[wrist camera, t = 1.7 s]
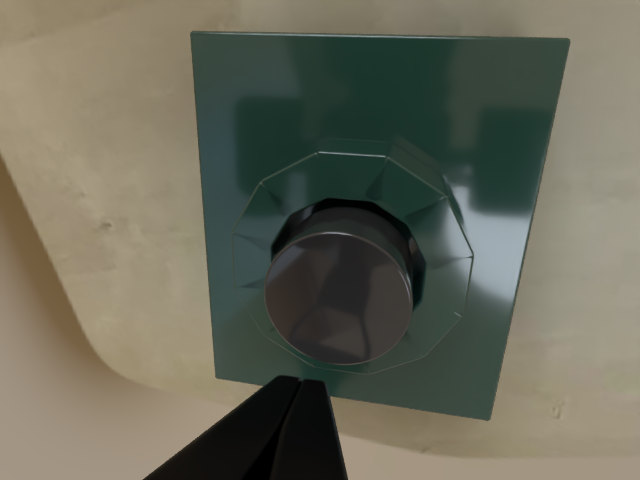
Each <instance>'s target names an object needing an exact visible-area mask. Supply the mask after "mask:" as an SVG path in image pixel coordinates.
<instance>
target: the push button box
mask: <svg viewBox="0 0 640 480" xmlns="http://www.w3.org/2000/svg"><path fill="white" fill-rule="evenodd" d="M190 37H191V50H192V64H193V78H194V91H195V105H196V119H197V132H198V146H199V160H200V173H201V187H202V201H203V214H204V228H205V242H206V255H207V269H208V282H209V296H210V310H211V323H212V337H213V351H214V364H215V377H216V378H217V379H223V380H230V381H236V382H242V383H249V384H255V385H262V386H265V385H266V384H267V383H269V382H270V381H271V380H272V379H274V378H275V377H276V376H278V375H287V376H294V377H299V378H301V380H302V381H303V380H304V379H314V380H321V381H325V382H326V384H327V386H328V391H329V395H330V396H332V397H339V398H345V399H352V400H358V401H364V402H371V403H377V404H384V405H390V406H397V407H403V408H409V409H416V410H422V411H429V412H435V413H441V414H448V415H454V416H461V417H467V418H474V419H480V420H486V421H489V420H490V419H491V414H492V410H493V405H494V400H495V396H496V391H497V386H498V381H499V377H500V372H501V367H502V363H503V358H504V353H505V348H506V344H507V339H508V334H509V329H510V325H511V320H512V315H513V311H514V306H515V301H516V296H517V292H518V287H519V282H520V278H521V273H522V268H523V263H524V259H525V254H526V249H527V245H528V240H529V235H530V230H531V226H532V221H533V216H534V212H535V207H536V202H537V197H538V193H539V188H540V183H541V179H542V174H543V169H544V164H545V160H546V155H547V150H548V145H549V141H550V136H551V131H552V127H553V122H554V117H555V112H556V108H557V103H558V98H559V94H560V89H561V84H562V79H563V75H564V70H565V65H566V61H567V56H568V51H569V46H570V39H568V38H544V37H491V36H438V35H385V34H332V33H279V32H226V31H192V32H191V34H190ZM338 206H352V207H359V208H363V209H366V210H369V211H372V212H374V213H376V214H378V215H380V216H382V217H383V218H385V219H386V220H388V221H389V222H390V223H391V224H392V225H393V226H394V227H396V228H397V229H398V231H399V232H400V233H401V235H402V236H403V237H404V239H405V241H406V242H407V244H408V247H409V249H410V252H411V256H412V259H413V311H412V316H411V320H410V323H409V326H408V328H407V330H406V332H405V334H404V335H403V337H402V338H401V339H400V341H399V342H398V343H397V344H396V345H395V346H394V347H393V348H392V349H391V350H389V351H388V352H387V353H385V354H384V355H382V356H380V357H378V358H376V359H374V360H371V361H368V362H365V363H361V364H354V365H335V364H329V363H324V362H321V361H318V360H315V359H312V358H310V357H308V356H306V355H304V354H302V353H300V352H299V351H297V350H296V349H295V348H293V347H292V346H291V345H289V344H288V343H287V342H286V341H285V340H284V339H283V338H282V337H281V335H280V334H279V333H278V332H277V330H276V329H275V327H274V326H273V324H272V322H271V320H270V318H269V315H268V313H267V310H266V305H265V300H264V283H265V278H266V274H267V271H268V269H269V267H270V265H271V263H272V261H273V259H274V258H275V257H276V255H277V254H278V252H279V251H280V250H281V248H282V247H283V245H284V244H285V243H286V241H287V240H288V238H289V237H290V236H291V234H292V233H293V231H294V230H295V229H296V227H297V226H298V225H299V224H300V223H301V222H302V221H303V220H305V219H306V218H307V217H309V216H310V215H312V214H314V213H316V212H318V211H321V210H323V209H327V208H331V207H338Z"/></svg>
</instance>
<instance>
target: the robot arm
mask: <svg viewBox="0 0 640 480" xmlns="http://www.w3.org/2000/svg"><path fill="white" fill-rule="evenodd" d="M143 480H348V477H347V472H346V468H345V463H344V458H343V454H342V450H341V445H340V441H339V436H338V431H337V427H336V422H335V418H334V413H333V409H332V404H331V400H330V395H329V391H328V386H327V384H326V382H325V381H321V380H314V379H304V380H303V381H302V380H301V378H299V377H294V376H287V375H278V376H276V377H275V378H274V379H272V380H271V381H270V382H269V383H267V384H266V385H265V386H263V387H262V388H261V389H259V390H258V391H257V392H256V393H254V394H253V395H252V396H250V397H249V398H248V399H246V400H245V401H244V402H243V403H241V404H240V405H239V406H237V407H236V408H235V409H234V410H232V411H231V412H230V413H228V414H227V415H226V416H224V417H223V418H222V419H221V420H219V421H218V422H217V423H215V424H214V425H213V426H212V427H210V428H209V429H208V430H206V431H205V432H204V433H202V434H201V435H200V436H199V437H197V438H196V439H195V440H193V441H192V442H191V443H190V444H188V445H187V446H186V447H184V448H183V449H182V450H181V451H179V452H178V453H177V454H175V455H174V456H173V457H172V458H170V459H169V460H168V461H166V462H165V463H164V464H162V465H161V466H160V467H158V468H157V469H156V470H155V471H153V472H152V473H151V474H149V475H148V476H147V477H146V478H144V479H143Z"/></svg>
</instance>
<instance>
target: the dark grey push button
mask: <svg viewBox="0 0 640 480" xmlns="http://www.w3.org/2000/svg"><path fill="white" fill-rule="evenodd" d="M264 300H265V305H266V310H267V313H268V315H269V318H270V320H271V322H272V324H273V326H274V327H275V329H276V330H277V332H278V333H279V334H280V335H281V337H282V338H283V339H284V340H285V341H286V342H287V343H288V344H289V345H291V346H292V347H293V348H295V349H296V350H297V351H299V352H300V353H302V354H304V355H306V356H308V357H310V358H312V359H315V360H318V361H321V362H324V363H329V364H335V365H354V364H361V363H365V362H368V361H371V360H374V359H376V358H378V357H380V356H382V355H384V354H385V353H387V352H388V351H389V350H391V349H392V348H393V347H394V346H395V345H396V344H397V343H398V342H399V341H400V339H401V338H402V337H403V335H404V334H405V332H406V330H407V328H408V326H409V323H410V320H411V316H412V311H413V259H412V256H411V252H410V249H409V247H408V244H407V242H406V241H405V239H404V237H403V236H402V235H401V233H400V232H399V231H398V229H397V228H396V227H394V226H393V225H392V224H391V223H390V222H389V221H388V220H386V219H385V218H383V217H382V216H380V215H378V214H376V213H374V212H372V211H369V210H366V209H363V208H359V207H352V206H338V207H331V208H327V209H323V210H321V211H318V212H316V213H314V214H312V215H310V216H309V217H307V218H306V219H305V220H303V221H302V222H301V223H300V224H299V225H298V226H297V227H296V229H295V230H294V231H293V233H292V234H291V236H290V237H289V238H288V240H287V241H286V243H285V244H284V245H283V247H282V248H281V250H280V251H279V252H278V254H277V255H276V257H275V258H274V259H273V261H272V263H271V265H270V267H269V269H268V271H267V274H266V278H265V283H264Z"/></svg>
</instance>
